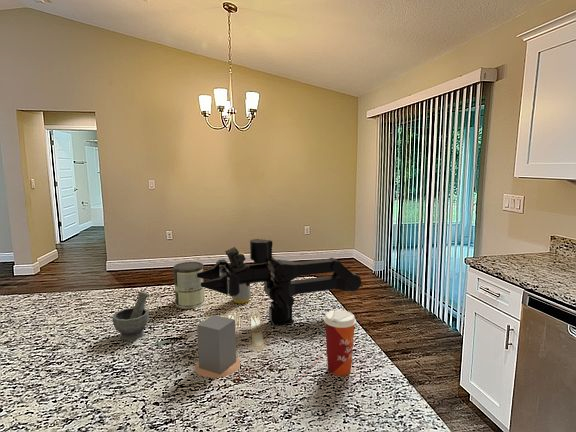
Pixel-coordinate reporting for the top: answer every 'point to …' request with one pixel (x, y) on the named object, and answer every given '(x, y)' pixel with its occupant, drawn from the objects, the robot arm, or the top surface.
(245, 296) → the soap bottle
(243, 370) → the top surface
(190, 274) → the coffee can
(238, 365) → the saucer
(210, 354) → the grey tall block
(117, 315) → the mortar and pestle
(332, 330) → the paper cup
